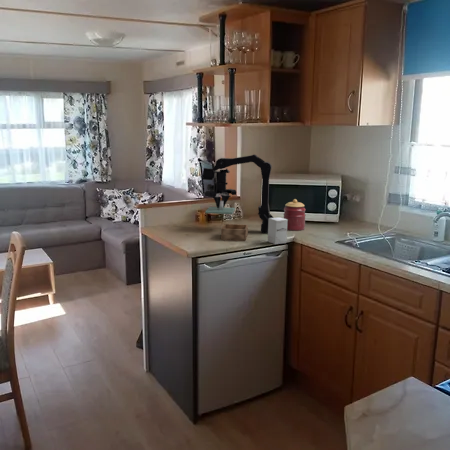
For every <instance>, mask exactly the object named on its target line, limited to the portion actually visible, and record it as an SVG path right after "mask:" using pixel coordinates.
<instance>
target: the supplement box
mask: <svg viewBox="0 0 450 450" xmlns="http://www.w3.org/2000/svg"><path fill="white" fill-rule="evenodd" d="M287 221H288V220H287V219H284V217H273V218H269V221H268V233H267V242H269V243H271V244H274V245H279V244H287V240H288V237H287V236H288V230H287Z"/></svg>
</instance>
